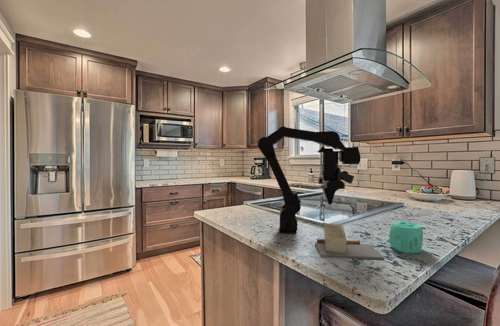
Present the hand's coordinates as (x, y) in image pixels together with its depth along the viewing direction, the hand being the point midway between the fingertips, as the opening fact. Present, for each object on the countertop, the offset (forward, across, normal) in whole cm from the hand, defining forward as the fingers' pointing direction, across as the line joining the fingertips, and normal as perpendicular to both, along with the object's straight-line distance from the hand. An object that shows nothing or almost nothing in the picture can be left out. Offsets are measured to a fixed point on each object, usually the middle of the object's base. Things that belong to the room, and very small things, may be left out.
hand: (329, 204), depth 93 cm
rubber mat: (+11, -18, -2) cm, 21 cm away
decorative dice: (+12, -13, -21) cm, 28 cm away
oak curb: (+11, -12, 0) cm, 16 cm away
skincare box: (+7, -9, 0) cm, 12 cm away
